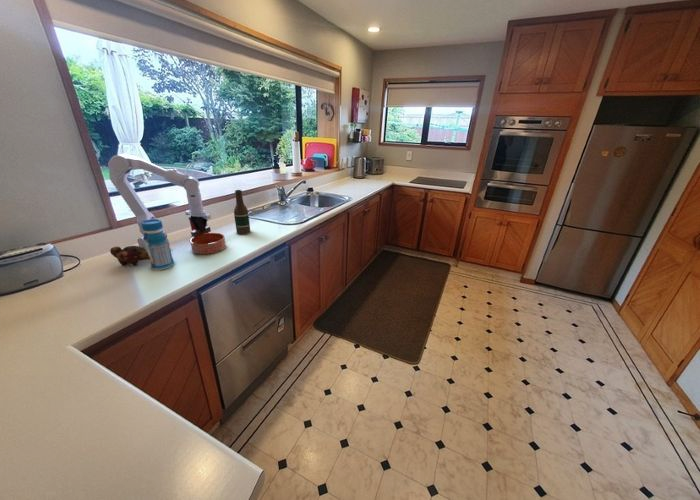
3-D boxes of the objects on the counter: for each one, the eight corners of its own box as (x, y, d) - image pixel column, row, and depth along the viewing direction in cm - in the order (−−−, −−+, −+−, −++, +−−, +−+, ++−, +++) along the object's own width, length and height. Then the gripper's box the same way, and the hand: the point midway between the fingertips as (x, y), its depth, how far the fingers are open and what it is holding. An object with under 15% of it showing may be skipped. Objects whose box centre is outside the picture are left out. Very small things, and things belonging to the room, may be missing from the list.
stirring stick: (195, 237, 132) (194, 232, 131) (191, 236, 133) (190, 231, 132) (211, 231, 140) (210, 226, 139) (207, 230, 140) (206, 226, 139)
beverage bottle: (163, 271, 115) (151, 225, 107) (146, 269, 117) (132, 223, 109) (179, 262, 123) (168, 219, 115) (162, 260, 124) (151, 217, 116)
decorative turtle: (118, 259, 124) (114, 242, 121) (157, 259, 128) (155, 242, 125) (106, 269, 115) (102, 250, 112) (149, 268, 119) (146, 250, 116)
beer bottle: (253, 230, 162) (248, 189, 153) (247, 235, 155) (242, 192, 145) (240, 229, 163) (234, 188, 153) (233, 234, 156) (227, 191, 146)
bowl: (207, 257, 129) (205, 246, 126) (185, 251, 134) (182, 240, 132) (232, 246, 141) (231, 236, 139) (211, 240, 147) (209, 230, 144)
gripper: (213, 203, 131) (218, 231, 136) (192, 199, 136) (197, 226, 142) (201, 207, 125) (206, 235, 130) (178, 203, 130) (184, 230, 136)
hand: (201, 231), depth 136 cm, fingers closed on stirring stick, 2 cm apart
